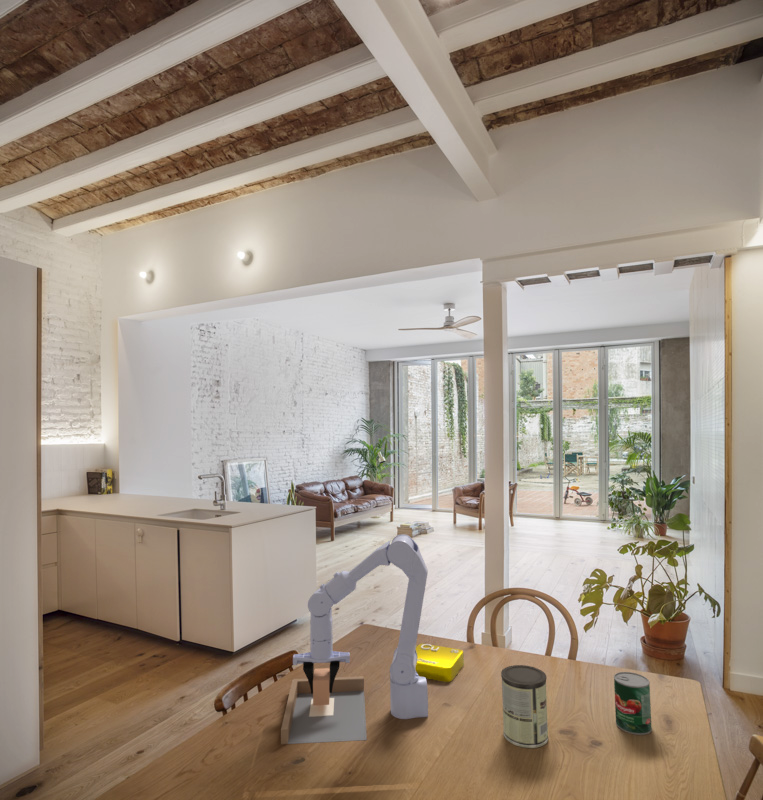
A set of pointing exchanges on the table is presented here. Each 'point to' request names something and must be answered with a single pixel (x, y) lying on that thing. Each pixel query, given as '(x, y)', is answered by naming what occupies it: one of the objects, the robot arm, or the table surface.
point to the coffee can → (524, 706)
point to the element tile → (438, 662)
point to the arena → (325, 713)
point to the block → (321, 686)
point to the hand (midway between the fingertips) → (321, 691)
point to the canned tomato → (632, 703)
